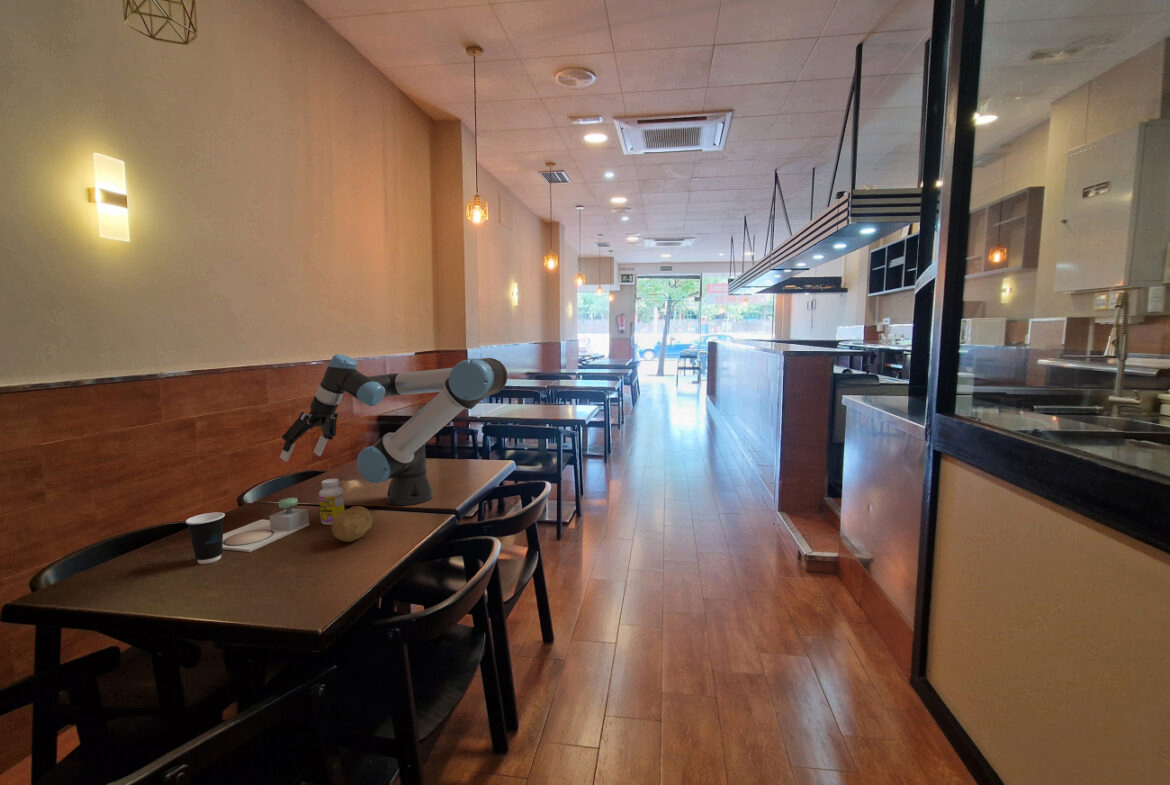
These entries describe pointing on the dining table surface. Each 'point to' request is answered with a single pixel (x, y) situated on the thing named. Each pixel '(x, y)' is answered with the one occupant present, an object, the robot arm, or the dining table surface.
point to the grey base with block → (265, 530)
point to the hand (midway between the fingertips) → (300, 456)
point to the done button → (288, 504)
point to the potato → (351, 524)
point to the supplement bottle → (330, 501)
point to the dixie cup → (206, 536)
